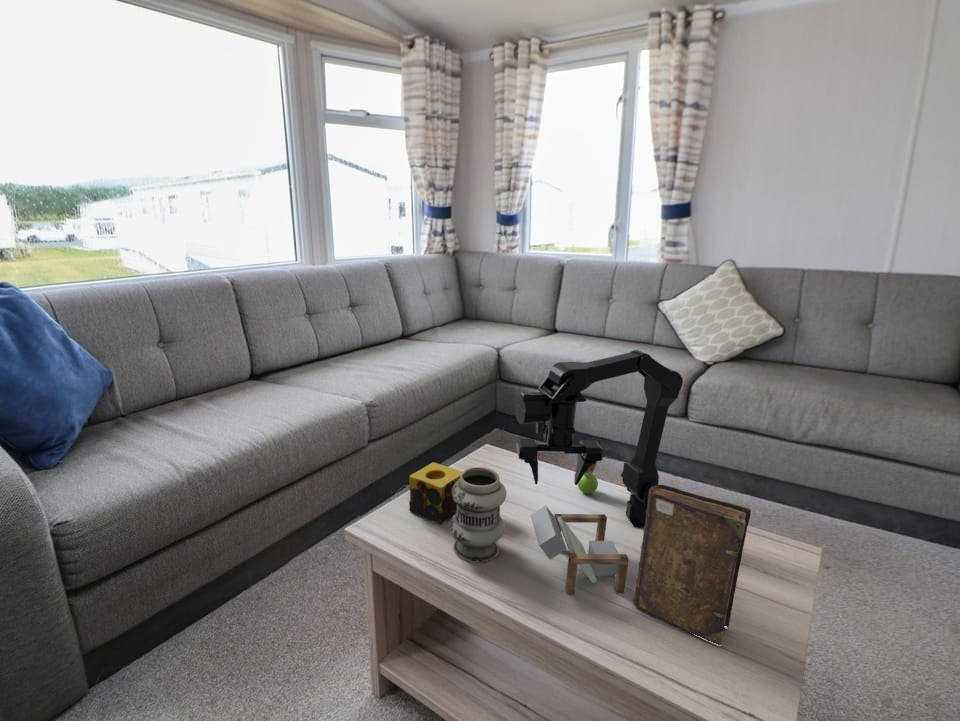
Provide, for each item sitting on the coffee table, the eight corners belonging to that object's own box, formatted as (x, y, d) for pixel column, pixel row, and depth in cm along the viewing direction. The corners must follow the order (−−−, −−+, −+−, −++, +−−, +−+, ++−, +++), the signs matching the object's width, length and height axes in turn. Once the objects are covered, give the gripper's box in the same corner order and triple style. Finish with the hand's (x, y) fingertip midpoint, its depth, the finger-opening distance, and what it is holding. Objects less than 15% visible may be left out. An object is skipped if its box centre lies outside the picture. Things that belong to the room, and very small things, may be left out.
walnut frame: (601, 545, 120) (605, 514, 117) (623, 593, 104) (628, 559, 102) (551, 545, 119) (554, 513, 117) (566, 593, 103) (570, 558, 101)
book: (628, 605, 101) (645, 489, 94) (643, 587, 106) (660, 475, 100) (719, 652, 91) (745, 525, 84) (730, 629, 96) (755, 508, 90)
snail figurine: (602, 491, 144) (607, 451, 141) (590, 499, 139) (594, 458, 136) (585, 484, 147) (589, 444, 144) (572, 491, 143) (576, 451, 140)
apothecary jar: (451, 567, 109) (454, 490, 105) (446, 534, 121) (448, 463, 116) (508, 564, 111) (513, 488, 107) (497, 531, 123) (502, 461, 118)
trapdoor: (563, 555, 118) (582, 543, 117) (576, 593, 106) (597, 580, 105) (529, 513, 114) (548, 501, 114) (539, 547, 102) (560, 534, 102)
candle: (465, 508, 132) (466, 472, 130) (441, 526, 124) (442, 488, 122) (433, 495, 138) (433, 460, 135) (408, 512, 129) (408, 475, 127)
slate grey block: (587, 560, 114) (609, 560, 114) (593, 576, 109) (616, 575, 110) (589, 540, 113) (612, 540, 113) (595, 555, 108) (619, 555, 108)
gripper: (593, 408, 124) (586, 468, 128) (515, 406, 123) (511, 467, 127) (607, 426, 113) (599, 491, 117) (521, 424, 112) (517, 490, 116)
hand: (555, 483), depth 120 cm, fingers open, 9 cm apart
